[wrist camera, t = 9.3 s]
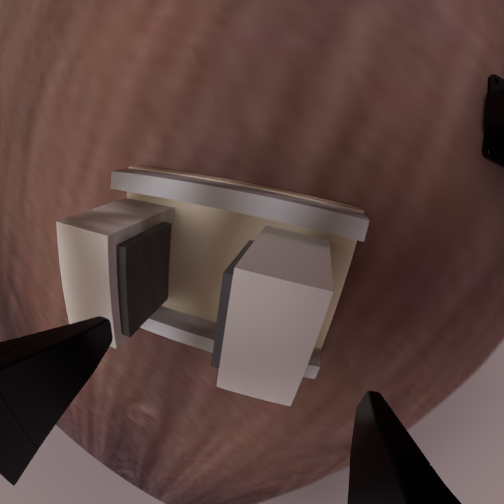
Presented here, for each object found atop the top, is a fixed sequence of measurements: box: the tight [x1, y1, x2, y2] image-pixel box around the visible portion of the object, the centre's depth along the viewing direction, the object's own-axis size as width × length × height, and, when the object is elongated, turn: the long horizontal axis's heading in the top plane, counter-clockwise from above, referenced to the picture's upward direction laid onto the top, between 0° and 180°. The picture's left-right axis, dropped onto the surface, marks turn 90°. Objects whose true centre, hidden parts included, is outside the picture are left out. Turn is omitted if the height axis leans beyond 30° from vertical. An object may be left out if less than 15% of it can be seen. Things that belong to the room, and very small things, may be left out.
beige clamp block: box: [56, 166, 369, 379], centre depth 17 cm, size 16×12×8 cm
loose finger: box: [211, 226, 333, 406], centre depth 16 cm, size 5×7×7 cm, turn 170°
